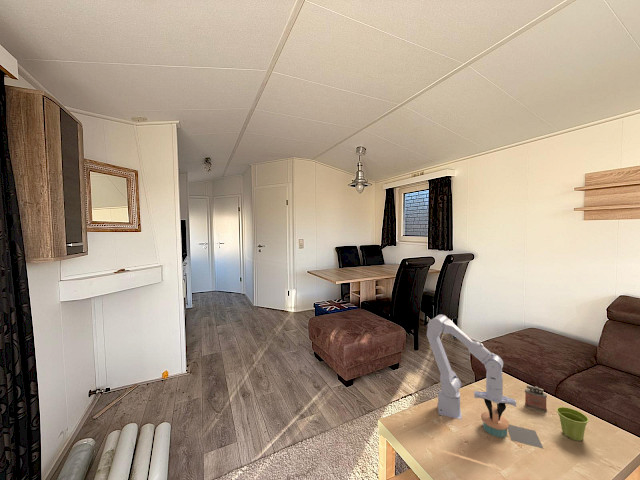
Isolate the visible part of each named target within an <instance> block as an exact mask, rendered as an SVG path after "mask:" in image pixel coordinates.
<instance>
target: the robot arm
mask: <svg viewBox="0 0 640 480" xmlns="http://www.w3.org/2000/svg"><path fill="white" fill-rule="evenodd" d="M426 326H427V330H426V338H427V340H428V343H429V346H430V349H431V352H432V354H433V357H434V360H435V362H436V365H437V368H438V371H439V373H440V375H439V376H440V377H439V381H440V390H438V391H437V393H438V394H437V395H438V396H437V399H438V400H437V409H438V410H437V412H438V413H437V414H438V415H439V416H446V417H449V418H454V419H458V420H460V421H462V420H463V419H462V418H463V417H462V410H461V393H460V389H461V388H462V382H461V379H459V377H458V376H457V373H456V372H455V371H454V370H453V369H452V367H451V364H450V361H449V359H448V357H447V353H446V350H445V348H444V346H443V342H442V340H441V338H440V335H441V334H447V335H448V334H449V335H450V334H451V335H452V336H454V338H456V339H457V340H458V341H459V342H461V343H462V344H463V345H465V346H466V347H467V350H468V352H469V353H470V354H471V355H473V356H474V357H475V358H476V359H477V360H479V362H481V364H483V365H484V368H485V370H486V374H485V375H486V376H485V378H486V379H485V380H486V381H485V382H486V384H485V386H486V387H485V388H486V389H485V390H486V391H476V390H474V391H473V397H474V398H475V399H478V398H479V399H483V400H484V403H485V407H486V408H487V410H488V411H487V412H489V415H490V419H492V406H493V403H494V404H496V408H497V411H498V414H499V421H500V417H501V416H502V414H504V413H503V412H505V410H506V409H507V405H510V406H513V407H517V401H516V399H514V398H511V397H508V396H505V395H503V393H504V392H503V391H504V389H503V387H504V385H503V381H504V379H503V378H504V377H503V368H504V361H503V359H502V358H501V357H500V355H499V354H498V355H497V354H496V353H494V352H491V351H490V350H489V349H487V348H486V347H485V346H484V344H483V343H482V342H479V341H474V340H473V339H471V338H470V337H469V336H468V335H467V334H466V333H464V331H462V329H460V328H459V327H458V326H457V325H456V324H455V322H453V321H452V320H451V319H450V318H448V317H447V316H446V315H445V314H442V313H441V314H438V315H436V316H435V317H434V318H431V319H430V320H429V321H428V323H427V325H426ZM492 402H493V403H492Z"/></svg>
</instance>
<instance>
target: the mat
mask: <svg viewBox="0 0 640 480" xmlns="http://www.w3.org/2000/svg"><path fill="white" fill-rule="evenodd" d="M507 432H508V434H509V436H510V440H511V441H513V442H515V443H516V442H517V443H521V444H524V445H528V446H530V447H531V446H532V447H535V448H540V449H545V448H544V446H543V444H542V442H541V440H540V438H539V436H538V434H537V431H536V430H533V429H529V428H524V427H521V426H516V425H514V424H509V428H508V429H507Z"/></svg>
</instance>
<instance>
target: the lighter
mask: <svg viewBox="0 0 640 480" xmlns="http://www.w3.org/2000/svg"><path fill="white" fill-rule="evenodd" d="M524 393H525V394H524V395H525V398H524V399H525V401H524V406H525V407H526V408H528V409H531V410H535V411H538V412H542V411H543V413H547V412H548V409H547V397H548V396H547V395H548V394H547V393H545V392H544V389H543V388H540V387H538V386H533V385H528V384H526V388H525V389H524Z"/></svg>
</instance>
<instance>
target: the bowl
mask: <svg viewBox="0 0 640 480" xmlns="http://www.w3.org/2000/svg"><path fill="white" fill-rule="evenodd" d="M482 427H483V430H484V431H486V433H488V434H490V435H491V436H494V437H498V438H504V437H507V436H508V429H506V430H498V429H494V428H492V427H490V426H488V425H486V424H485V423H484V422H483V421H482Z"/></svg>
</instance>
